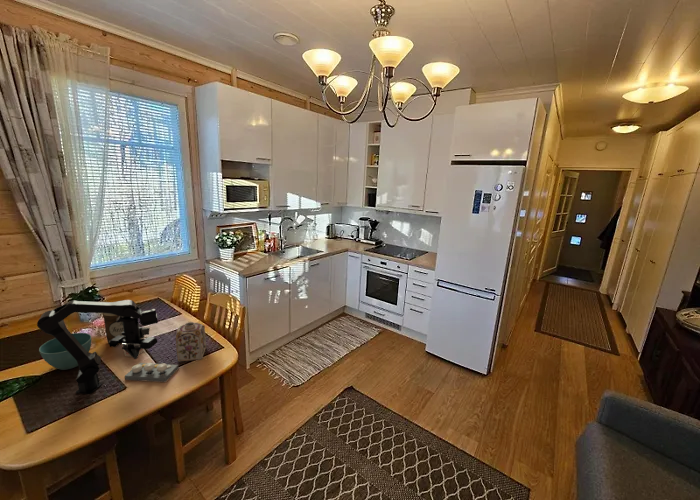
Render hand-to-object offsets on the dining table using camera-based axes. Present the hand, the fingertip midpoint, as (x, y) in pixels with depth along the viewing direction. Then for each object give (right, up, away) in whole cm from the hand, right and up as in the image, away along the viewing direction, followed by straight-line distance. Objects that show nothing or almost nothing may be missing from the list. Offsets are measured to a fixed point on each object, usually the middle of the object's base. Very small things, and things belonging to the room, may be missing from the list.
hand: (136, 358), depth 138 cm
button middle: (+6, -7, +1) cm, 9 cm away
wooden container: (-29, 0, +32) cm, 43 cm away
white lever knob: (+12, -7, +1) cm, 14 cm away
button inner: (-1, -8, +2) cm, 8 cm away
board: (+5, -9, +3) cm, 11 cm away
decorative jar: (+16, -5, +20) cm, 26 cm away
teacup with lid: (-14, -4, +20) cm, 25 cm away
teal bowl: (-37, -6, +7) cm, 39 cm away
